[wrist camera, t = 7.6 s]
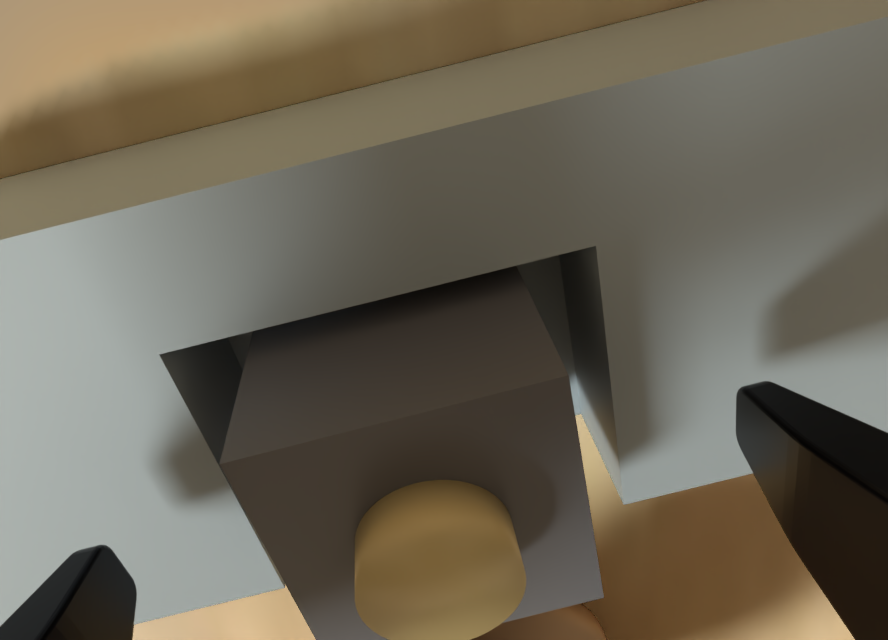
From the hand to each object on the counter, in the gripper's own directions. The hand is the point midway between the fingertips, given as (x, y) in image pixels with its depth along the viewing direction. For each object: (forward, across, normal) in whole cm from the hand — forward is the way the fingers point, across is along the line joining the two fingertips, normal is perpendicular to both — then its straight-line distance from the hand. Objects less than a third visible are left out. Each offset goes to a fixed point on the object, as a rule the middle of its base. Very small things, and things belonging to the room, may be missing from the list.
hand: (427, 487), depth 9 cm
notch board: (+4, 0, -1) cm, 5 cm away
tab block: (+4, 0, 0) cm, 4 cm away
